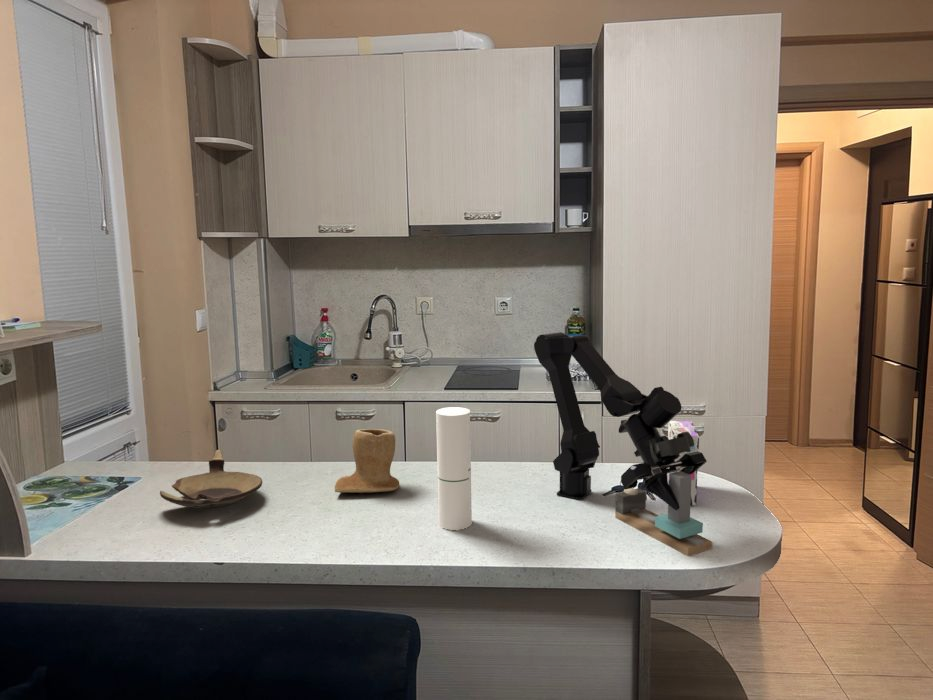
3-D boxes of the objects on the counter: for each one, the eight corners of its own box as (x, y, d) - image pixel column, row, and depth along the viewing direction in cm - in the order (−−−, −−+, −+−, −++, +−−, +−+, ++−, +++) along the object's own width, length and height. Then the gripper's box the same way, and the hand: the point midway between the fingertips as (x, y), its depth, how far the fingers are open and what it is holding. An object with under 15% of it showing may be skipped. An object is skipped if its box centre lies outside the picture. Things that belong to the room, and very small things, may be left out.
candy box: (697, 506, 161) (699, 436, 158) (670, 505, 162) (672, 435, 160) (690, 485, 175) (693, 420, 172) (665, 483, 176) (667, 419, 173)
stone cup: (400, 479, 182) (399, 422, 179) (398, 497, 170) (396, 436, 167) (341, 481, 181) (338, 424, 179) (334, 498, 169) (331, 438, 167)
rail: (614, 516, 156) (614, 491, 155) (637, 511, 159) (637, 486, 158) (687, 556, 137) (688, 527, 136) (711, 548, 140) (713, 520, 139)
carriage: (654, 526, 145) (656, 472, 143) (677, 520, 148) (678, 467, 146) (679, 538, 139) (681, 482, 137) (702, 532, 141) (704, 477, 140)
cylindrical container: (476, 519, 156) (474, 408, 152) (465, 532, 149) (463, 416, 145) (445, 515, 158) (443, 406, 154) (433, 528, 152) (430, 414, 148)
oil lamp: (140, 523, 157) (137, 490, 156) (204, 476, 187) (202, 448, 185) (237, 526, 155) (235, 492, 153) (286, 478, 184) (285, 450, 183)
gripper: (631, 426, 139) (670, 498, 131) (701, 413, 147) (742, 480, 139) (605, 454, 147) (640, 523, 139) (673, 440, 155) (709, 505, 148)
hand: (684, 507), depth 141 cm, fingers closed on carriage, 3 cm apart
